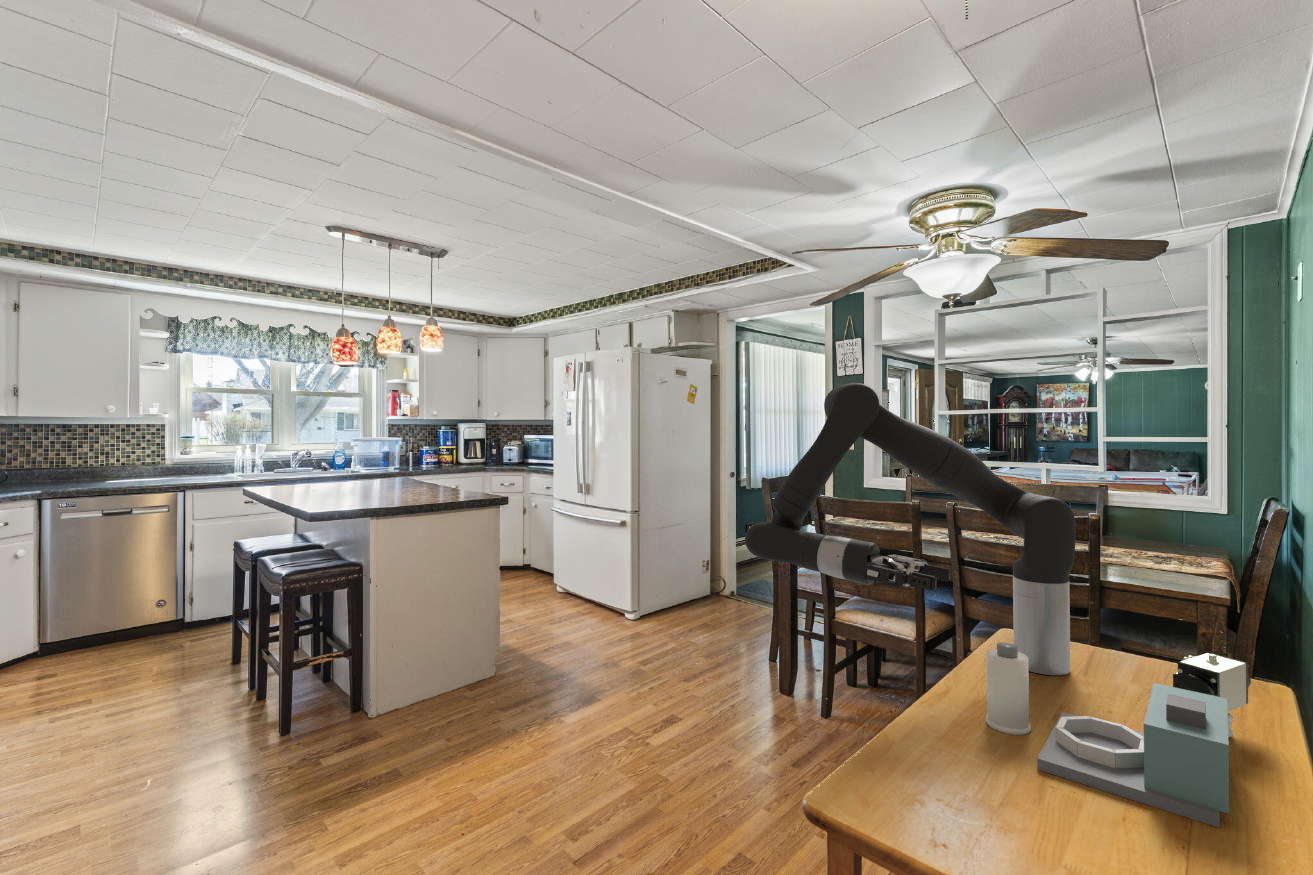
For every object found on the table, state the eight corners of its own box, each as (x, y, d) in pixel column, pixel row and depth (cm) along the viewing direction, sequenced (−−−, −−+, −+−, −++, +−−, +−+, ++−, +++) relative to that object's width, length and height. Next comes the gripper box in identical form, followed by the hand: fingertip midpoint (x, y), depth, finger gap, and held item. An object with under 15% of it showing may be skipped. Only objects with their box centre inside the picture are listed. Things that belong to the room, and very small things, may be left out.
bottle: (991, 712, 97) (991, 636, 97) (1034, 724, 93) (1033, 644, 93) (981, 726, 93) (980, 646, 93) (1025, 739, 89) (1024, 655, 89)
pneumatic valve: (1253, 733, 90) (1252, 653, 89) (1212, 751, 85) (1212, 667, 85) (1206, 717, 95) (1206, 642, 95) (1166, 733, 90) (1165, 654, 90)
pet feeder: (1062, 719, 94) (1062, 647, 94) (1227, 763, 82) (1226, 679, 81) (1037, 769, 81) (1036, 684, 81) (1229, 831, 68) (1228, 730, 68)
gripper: (834, 543, 104) (933, 563, 93) (864, 534, 115) (955, 551, 104) (830, 585, 104) (928, 610, 94) (860, 573, 115) (951, 594, 105)
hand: (942, 579), depth 99 cm, fingers open, 8 cm apart
